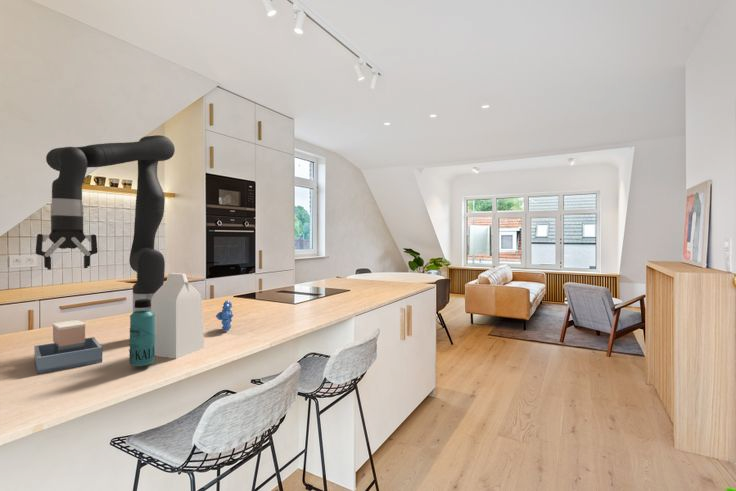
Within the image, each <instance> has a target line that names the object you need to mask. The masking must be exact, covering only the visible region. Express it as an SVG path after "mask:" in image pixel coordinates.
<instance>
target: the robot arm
mask: <svg viewBox="0 0 736 491" xmlns="http://www.w3.org/2000/svg"><path fill="white" fill-rule="evenodd" d="M175 150H176V149H175V145H174V142H173V141H172V140H171V139H170V138H169V137H167V136H164V135H158V134H157V135H147V136H143V137H141V138H140V139H139V140H138V141H132V142H130V141H129V142H127V141H126V142H107V143H106V142H105V143H104V142H103V143H96V144H95V143H94V144H89V145H85V146H84V145H83V146H64V147H57V148H53V149H51V150H49V151H48V152H47V154H46V157H45V160H46V161H45V162H46V163H47V165H48V166H49V167H50V168H51V169H53V170H55V171H57V172H59V174H58V177H57V178H56V179H54V180H53V181H52V184H51V204H50V233H49V234H43V233H38V234H37V235H36V240H35V254H36V255H38V256H41V257H43V258H44V259H43V261H44V262H43V264H44V265H43V266H44V268H46V269H47V270H49V271H52V257H51V255H52V254H53V253H54V252H55V251H56V250H58V249H61V250H62V249H63V250H64V249H65V250H66V249H71V250H73V249H76V248H77V249H78V250H80V252H81V253H82V254H83V268H84V269H88V267H90V266H91V256H92V255H97V254H98V240H97V235H96V234H94V233H93V234H85V232H84V215H85V213H84V204H83V184H84V182H85V178H86V174H87V169H88V168H102V167H108V166H110V167H111V166H115V165H119V164H126V163H131V162H132V163H133V162H136V161H137V184H136V185H137V186H136V187H137V188H136V195H135V196H136V198H135V208H134V209H135V210H134V225H133V226H134V227H133V238H132V244H131V248H130V253H129V259H128V260H129V261H128V262H129V265H130V267H131V269H132V270H133V271H134V272H136V273H137V279H136V282H135V283H134V284H133V286H132V313H133V312H135V311H139V310H151V307H147V308H135V307H134V305H135V301H136V300H140V299H150V301H151V300H152V297H153V295H154V294H155V293H156V291H157V290H158V289H159V288H160V287H161V286H162V285H163V284H164V283H165V271H166V270H165V266H166V264H165V263H166V262H165V261H166V260H165V257H164V255H163V254H162V253H161V251H159V250H157V249H155V240H156V239H155V238H156V235H157V232H158V229H159V227H160V225H161V223H162V220H163V217H164V213H165V202H166V197H165V193H164V190H163V187H162V186H161V184H160V180H159V178H158V163H159V162H165V161H168V160H170V159H171V158H172V157H173V156H174V155H175V152H176V151H175ZM47 239H49V240H50V241H51V242H52V245H51V246H50V247H49V248H47V250H46V251H43V242H46V241H47ZM85 239H86V240H87V241H88V242H89V243H90V249H91V250H88V249H87V247H85V246H84V245H83V244H82V243H84V242H83V241H85Z"/></svg>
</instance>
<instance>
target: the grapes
mask: <svg viewBox="0 0 736 491" xmlns="http://www.w3.org/2000/svg"><path fill="white" fill-rule="evenodd" d="M232 307H233V305H232V302H231V301H230V300H228V299H227V300H224V302H223V306H222V307H221V308H222V309H221V311H220V312H217V313H216V315H215V317H216V319H217V320H219V321H220V322H221V325H222V327H221V328H222V330H223V331H224V332H228V331H229V330H230V329H231V327H232V324H231V322H232V321H233V319H232V318H233V317H234V313H233V311H232V310H231V308H232Z"/></svg>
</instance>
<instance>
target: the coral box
mask: <svg viewBox="0 0 736 491" xmlns="http://www.w3.org/2000/svg"><path fill="white" fill-rule="evenodd" d="M85 338H86V323H85V322H83V321H81V320H80V319H74V320H67V321H66V320H65V321H58V322H57V321H56V322H52V342H53V343H54V342H55V343H56V344H57V345H58V346H66V345H71V344H77V343H83V342H85Z"/></svg>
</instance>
